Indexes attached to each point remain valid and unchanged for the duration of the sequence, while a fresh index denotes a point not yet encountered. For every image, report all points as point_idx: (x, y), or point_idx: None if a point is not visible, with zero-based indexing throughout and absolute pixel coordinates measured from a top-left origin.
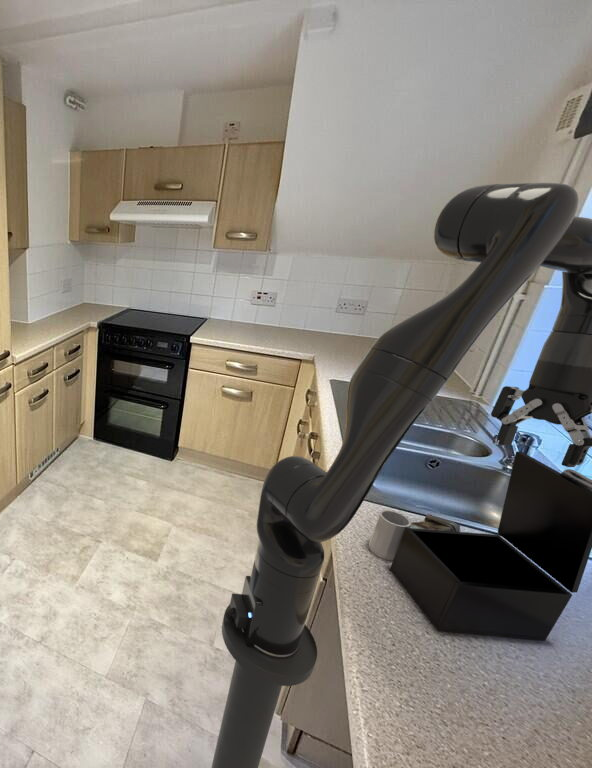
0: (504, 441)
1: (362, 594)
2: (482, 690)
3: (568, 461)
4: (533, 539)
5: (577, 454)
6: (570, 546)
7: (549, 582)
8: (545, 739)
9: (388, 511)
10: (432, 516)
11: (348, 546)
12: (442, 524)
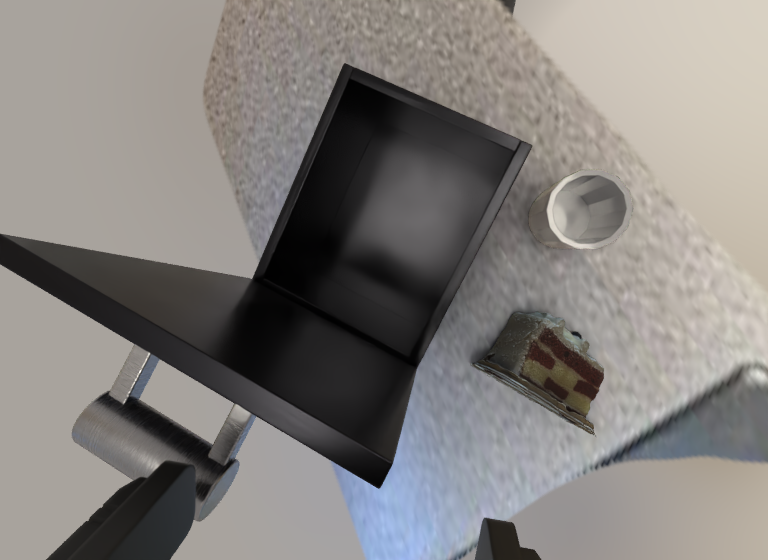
0: (488, 538)
1: (487, 44)
2: (290, 68)
3: (150, 476)
4: (321, 327)
5: (91, 534)
6: (220, 284)
7: (288, 289)
8: (225, 78)
9: (620, 225)
10: (579, 422)
11: (606, 147)
12: (540, 389)
